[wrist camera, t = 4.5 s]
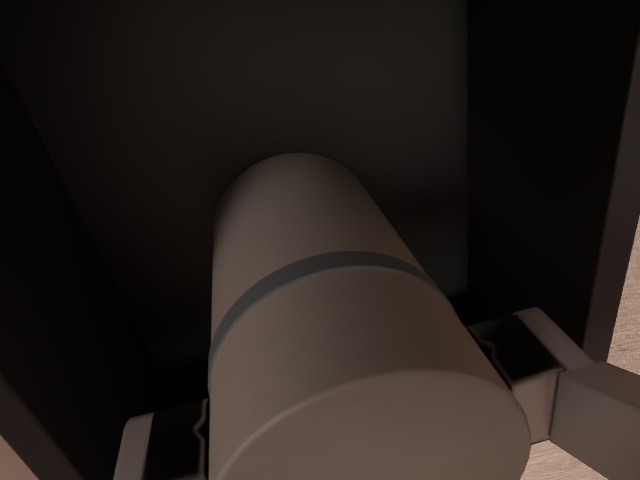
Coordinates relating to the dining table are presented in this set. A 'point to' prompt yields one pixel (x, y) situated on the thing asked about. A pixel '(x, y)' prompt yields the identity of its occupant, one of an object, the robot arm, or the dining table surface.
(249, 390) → the container
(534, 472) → the dining table surface
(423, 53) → the black keepsake box
